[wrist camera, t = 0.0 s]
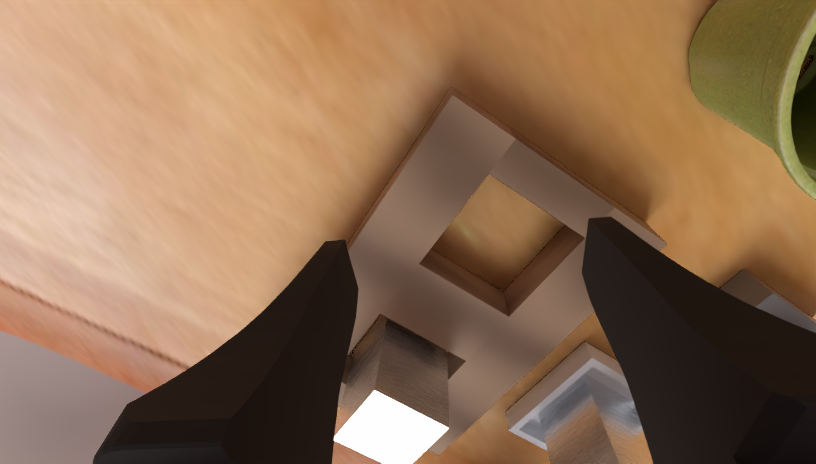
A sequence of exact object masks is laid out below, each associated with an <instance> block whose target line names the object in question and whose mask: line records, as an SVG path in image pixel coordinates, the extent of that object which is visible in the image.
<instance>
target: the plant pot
mask: <svg viewBox="0 0 816 464" xmlns="http://www.w3.org/2000/svg"><path fill="white" fill-rule="evenodd" d="M810 55H813V56H812V57H813V62H812V63H811V64H810V66H809V67H808V68H807V70H806V71H805V73H804V74H803V76H802V77H801V78H800V79H798V76H799V73H800V69H801V66H802V65H803V63H804V62H805V61H806V59H807V57H808V56H810ZM688 58H689V67H690V78H691V88H692V90H693V92H694V94H695V96H696V97H697V99H698V100H699V101H700V102H701V103H702V104H703V105H704V106H705V107H707V108H708V109H709V110H711V111H713V112H715V113H716V114H718V115H720V116H721V117H723V118H724V119H726V120H728V121H729V122H731V123H733V124H734V125H736V126H738V127H739V128H741V129H742V130H744V131H746V132H747V133H749V134H750V135H752V136H753V137H755V138H756V139H758V140H759V141H761V142H763V143H764V144H766V145H768V146H769V147H771V148H772V149H773V150H774V151H775V153H776V154H777V155H778V157H779V158H780V160H781V162H782V164H783V166H784V167H785V169H786V171H787V173H788V174H789V175H790V177H791V178H792V179H793V181H794V182H795V183H796V184H797V185H798V186H799V187H800V188H801V189H802V190H803V191H804V192H805V193H807V194H808V195H809V196H811V197H812V198H814V199H815V200H816V0H718V1H717V2H716V3H715V4H714V5H713V6H712V7H711V9H710V10H709V11H708V13H707V14H706V15H705V17H704V18H703V20H702V21H701V23H700V25H699V27H698V28H697V30H696V32H695V35H694V37H693V39H692V42H691V46H690V49H689V54H688ZM797 79H798V80H797Z"/></svg>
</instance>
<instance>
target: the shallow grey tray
mask: <svg viewBox="0 0 816 464" xmlns="http://www.w3.org/2000/svg"><path fill="white" fill-rule="evenodd" d="M583 374H586V375H588V376H590V377H592V378H593V379H595V380H597V381H598V382H600V383H602V384H604V385H605V386H607V387H609V388H610V389H612V390H614V391H616V392H617V393H619V394H621V395H622V396H624V397H626V398H628V399H629V400H631V401H632V402H633V404H634V401H633V398H632V395H631V393H630V390H629V387H628V384H627V381H626V379H625V376H624V374H623V371H622V369H621V367H620V364H619V362H618V361H617V360H615V359H613V358H612V357H610V356H608V355H607V354H605V353H603V352H602V351H600V350H598V349H597V348H595V347H593V346H592V345H590V344H588V343H587V342H585V341H584V342H583V343H582V344H581V345H580V346H579V347H578V348H576V349H575V350H574V351H573V352H572V353H571V354H570V355H569V356H568V357H566V358H565V359H564V360H563V361H562V362H561V363H560V364H559V365H558V366H556V367H555V368H554V369H553V370H552V371H551V372H550V373H549V374H547V375H546V376H545V377H544V378H543V379H542V380H541V381H540V382H539V383H537V384H536V385H535V386H534V387H533V388H532V389H531V390H530V391H529V392H527V393H526V394H525V395H524V396H523V397H522V398H521V399H520V400H519V401H517V402H516V403H515V404H514V405H513V406H512V407H511V408H510V409H509V410H507V411H506V412H505V414H506V420H507V426H508V431H510V432H512V433H514V434H516V435H518V436H520V437H522V438H524V439H525V440H527V441H529V442H531V443H533V444H535V445H537V446H539V447H541V448H543V449H544V450H546V451H548V450H547V446H546V442H545V438H544V435H543V431H542V427H541V423H540V419H539V415H538V413H539V412H540V411H541V410H542V409H544V408H545V407H546V406H547V405H548V404H549V403H551V402H552V401H553V400H554V399H555V398H556V397H558V396H559V395H560V394H561V393H562V392H563V391H565V390H566V389H567V388H568V387H569V386H570V385H572V384H573V383H574V382H575V381H576V380H577V379H579V378H580V377H581V376H582V375H583ZM634 406H635V404H634ZM635 408H636V407H635Z"/></svg>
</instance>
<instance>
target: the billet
mask: <svg viewBox="0 0 816 464" xmlns="http://www.w3.org/2000/svg"><path fill="white" fill-rule="evenodd" d="M538 415H539V419H540V423H541V427H542V431H543V435H544V438H545V442H546V446H547V450H548V454H549V458H550V462H551V464H653V461H652V458H651V454H650V451H649V448H648V445H647V441H646V438H645V435H644V432H643V429H642V426H641V422H640V419H639V416H638V413H637V410H636V408H635V406H634V404H633V402H632V401H631V400H629V399H628V398H626V397H624V396H622V395H621V394H619V393H617V392H616V391H614V390H612V389H610V388H609V387H607V386H605V385H604V384H602V383H600V382H598V381H597V380H595V379H593V378H592V377H590V376H588V375H586V374H583V375H582V376H581V377H580V378H579V379H577V380H576V381H575V382H574V383H573V384H572V385H570V386H569V387H568V388H567V389H566V390H565V391H563V392H562V393H561V394H560V395H559V396H558V397H556V398H555V399H554V400H553V401H552V402H551V403H549V404H548V405H547V406H546V407H545V408H544V409H542V410H541V411H540V412H539V413H538Z"/></svg>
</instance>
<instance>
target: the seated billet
mask: <svg viewBox="0 0 816 464" xmlns="http://www.w3.org/2000/svg"><path fill="white" fill-rule="evenodd" d="M448 429H449V398H448V362H447V350H445V349H443V348H442V347H440V346H438V345H436V344H434V343H433V342H431V341H429V340H427V339H425V338H423V337H422V336H420V335H418V334H416V333H414V332H413V331H411V330H409V329H407V328H405V327H403V326H402V325H400V324H398V323H396V322H394V321H393V320H391V319H389V318H387V317H385V316H384V315H382V314H381V316H380V317H379V318H378V319H377V321H376V322H375V323H374V325H373V326H372V327H371V328H370V330H369V331H368V332H367V334H366V335H365V336H364V337H363V339H362V340H361V341H360V343H359V344H358V345H357V346H356V348H355V351H354V355H353V359H352V363H351V367H350V371H349V375H348V379H347V383H346V387H345V391H344V395H343V399H342V403H341V407H340V410H339V414H338V418H337V422H336V426H335V435H334V440H335V441H337V442H339V443H341V444H343V445H345V446H347V447H349V448H352V449H354V450H356V451H358V452H360V453H362V454H364V455H366V456H368V457H371V458H373V459H375V460H377V461H379V462H381V463H383V464H412V463H413V462H414V461H415V460H417V459H418V458H419V457H420V456H421V455H422V454H423V453H424V452H425V451H426V450H427V449H428V448H429V447H430V446H431V445H432V444H433V443H434V442H435V441H436V440H437V439H439V438H440V437H441V436H442V435H443V434H444V433H445V432H446V431H447V430H448Z"/></svg>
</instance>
